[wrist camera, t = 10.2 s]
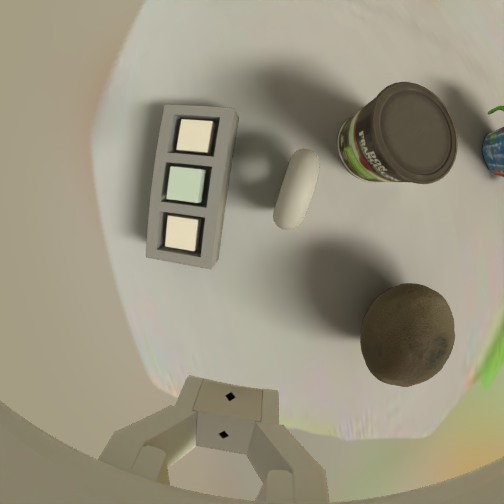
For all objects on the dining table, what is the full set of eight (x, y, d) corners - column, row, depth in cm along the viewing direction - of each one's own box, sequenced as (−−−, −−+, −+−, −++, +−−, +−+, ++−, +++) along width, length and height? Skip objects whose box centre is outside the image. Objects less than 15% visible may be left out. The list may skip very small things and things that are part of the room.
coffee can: (369, 197, 37) (416, 205, 23) (321, 140, 35) (349, 116, 22) (415, 155, 34) (472, 147, 21) (371, 99, 33) (414, 65, 19)
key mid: (175, 167, 34) (170, 166, 32) (205, 170, 34) (202, 169, 32) (171, 198, 35) (166, 198, 33) (201, 201, 35) (197, 202, 33)
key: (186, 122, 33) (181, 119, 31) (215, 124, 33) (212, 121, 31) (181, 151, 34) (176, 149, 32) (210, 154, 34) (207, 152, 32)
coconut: (438, 293, 39) (489, 334, 24) (390, 359, 42) (422, 416, 28) (380, 252, 38) (431, 286, 24) (328, 328, 41) (350, 391, 27)
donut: (291, 150, 36) (298, 137, 26) (315, 158, 36) (331, 149, 26) (269, 219, 38) (268, 231, 29) (293, 227, 38) (300, 241, 29)
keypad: (176, 113, 36) (164, 104, 31) (238, 117, 35) (234, 108, 30) (159, 248, 40) (145, 257, 35) (218, 259, 40) (211, 269, 35)
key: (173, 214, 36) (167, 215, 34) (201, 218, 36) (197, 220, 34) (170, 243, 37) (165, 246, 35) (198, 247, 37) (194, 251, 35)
